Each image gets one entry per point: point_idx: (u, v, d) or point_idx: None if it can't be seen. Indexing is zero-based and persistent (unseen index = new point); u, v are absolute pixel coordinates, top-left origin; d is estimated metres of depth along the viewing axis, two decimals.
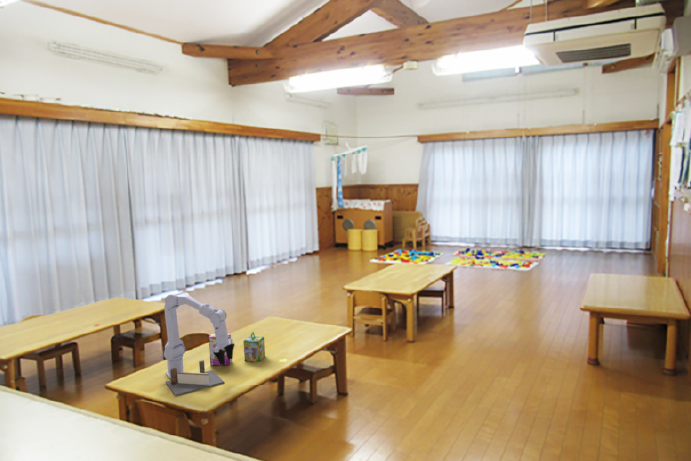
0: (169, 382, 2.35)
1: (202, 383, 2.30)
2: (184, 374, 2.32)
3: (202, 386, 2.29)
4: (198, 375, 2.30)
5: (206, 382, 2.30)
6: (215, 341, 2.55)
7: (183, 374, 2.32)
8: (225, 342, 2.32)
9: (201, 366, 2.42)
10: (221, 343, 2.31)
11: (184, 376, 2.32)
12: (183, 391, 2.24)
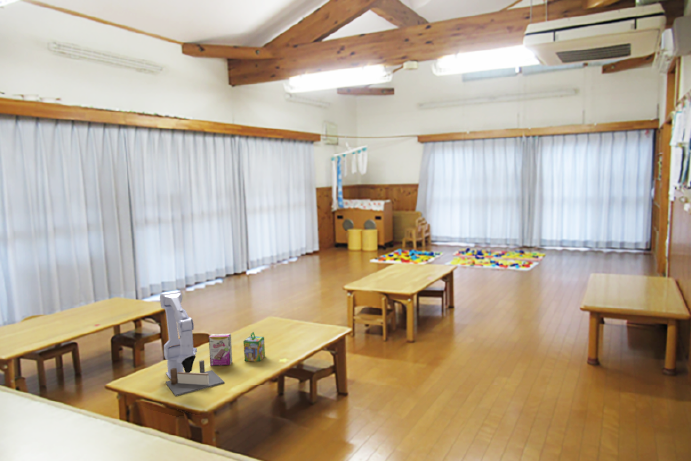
0: (169, 382, 2.35)
1: (202, 383, 2.30)
2: (184, 374, 2.32)
3: (202, 386, 2.29)
4: (198, 375, 2.30)
5: (206, 382, 2.30)
6: (215, 341, 2.55)
7: (183, 374, 2.32)
8: (190, 352, 2.23)
9: (201, 366, 2.42)
10: (185, 353, 2.22)
11: (184, 376, 2.32)
12: (183, 391, 2.24)
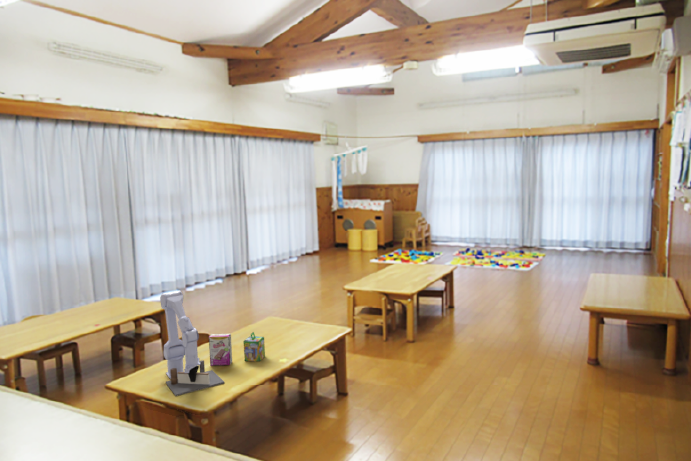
0: (169, 382, 2.35)
1: (203, 382, 2.31)
2: (184, 374, 2.32)
3: (202, 386, 2.29)
4: (199, 375, 2.31)
5: (207, 381, 2.30)
6: (215, 341, 2.55)
7: (183, 374, 2.32)
8: (195, 362, 2.27)
9: (201, 366, 2.42)
10: (191, 363, 2.26)
11: (184, 376, 2.32)
12: (183, 391, 2.24)
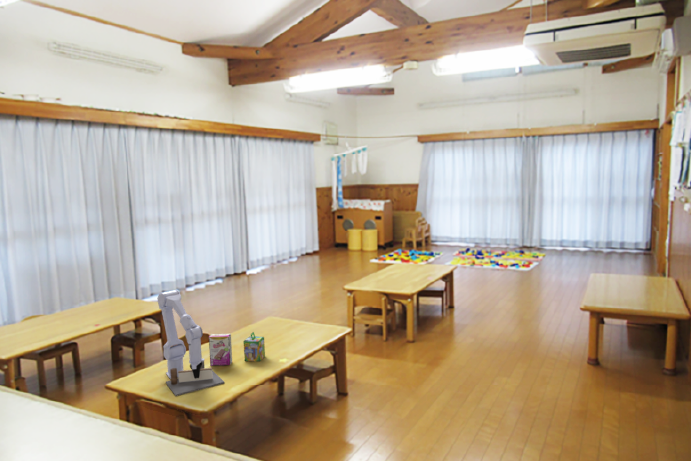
0: (169, 382, 2.35)
1: (206, 378, 2.36)
2: (186, 372, 2.34)
3: (202, 386, 2.29)
4: (202, 371, 2.35)
5: (210, 376, 2.37)
6: (215, 341, 2.55)
7: (185, 372, 2.34)
8: (200, 358, 2.32)
9: (201, 366, 2.42)
10: (196, 360, 2.31)
11: (186, 374, 2.34)
12: (183, 391, 2.24)
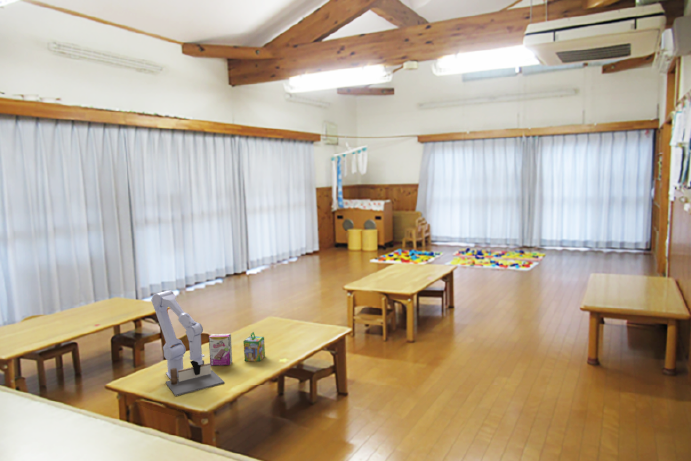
0: (169, 382, 2.35)
1: (205, 373, 2.42)
2: (185, 371, 2.36)
3: (202, 386, 2.29)
4: (201, 367, 2.40)
5: (209, 371, 2.43)
6: (215, 341, 2.55)
7: (185, 371, 2.36)
8: (201, 354, 2.38)
9: None
10: (199, 356, 2.36)
11: (186, 372, 2.36)
12: (183, 391, 2.24)
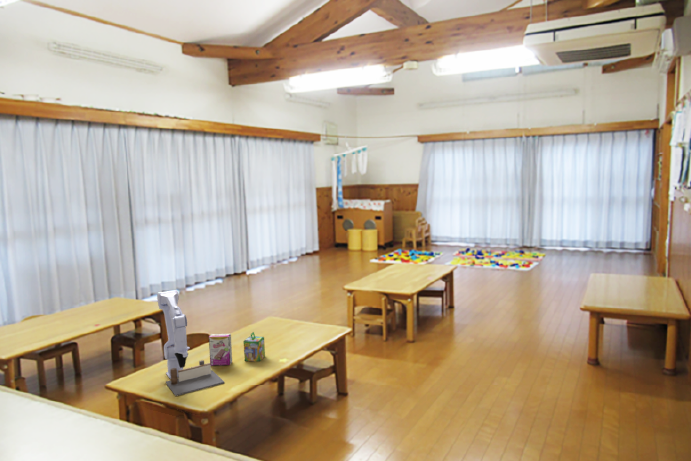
0: (169, 382, 2.35)
1: (205, 373, 2.42)
2: (185, 371, 2.36)
3: (202, 386, 2.29)
4: (201, 367, 2.40)
5: (209, 371, 2.43)
6: (215, 341, 2.55)
7: (185, 371, 2.36)
8: (186, 346, 2.31)
9: None
10: (184, 348, 2.29)
11: (186, 372, 2.36)
12: (183, 391, 2.24)
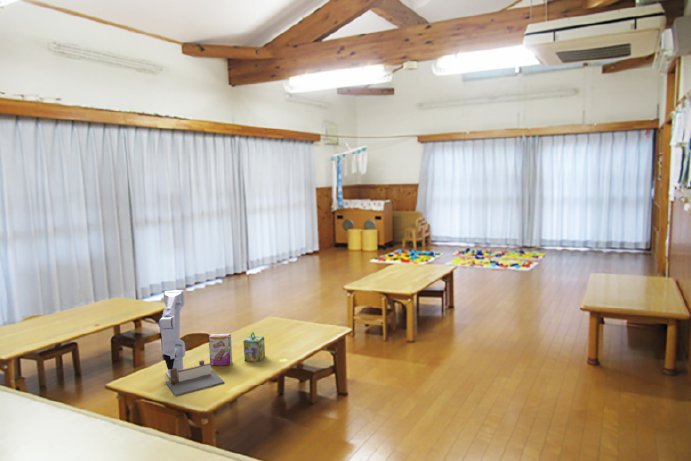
0: (169, 382, 2.35)
1: (205, 373, 2.42)
2: (185, 371, 2.36)
3: (202, 386, 2.29)
4: (201, 367, 2.40)
5: (209, 371, 2.43)
6: (215, 341, 2.55)
7: (185, 371, 2.36)
8: (174, 348, 2.29)
9: None
10: (171, 349, 2.27)
11: (186, 372, 2.36)
12: (183, 391, 2.24)
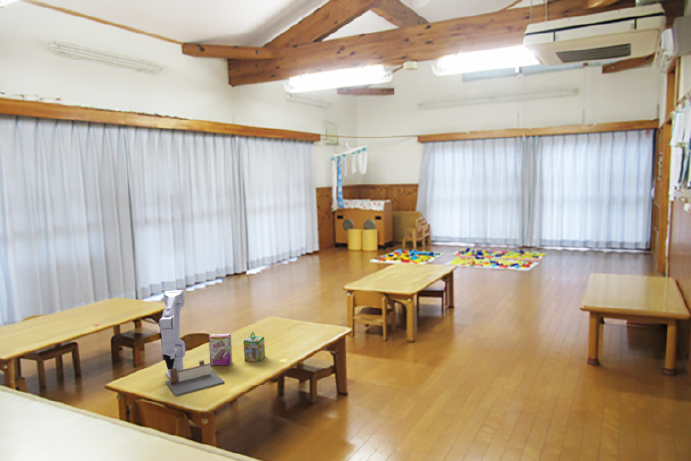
0: (169, 382, 2.35)
1: (205, 373, 2.42)
2: (185, 371, 2.36)
3: (202, 386, 2.29)
4: (201, 367, 2.40)
5: (209, 371, 2.43)
6: (215, 341, 2.55)
7: (185, 371, 2.36)
8: (174, 348, 2.29)
9: None
10: (171, 349, 2.27)
11: (186, 372, 2.36)
12: (183, 391, 2.24)
